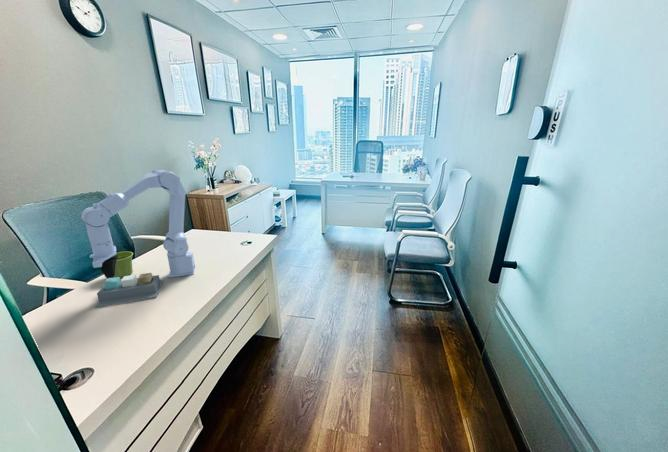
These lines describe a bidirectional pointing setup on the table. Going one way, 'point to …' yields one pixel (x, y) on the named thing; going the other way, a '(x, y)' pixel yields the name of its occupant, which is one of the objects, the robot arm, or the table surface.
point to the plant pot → (123, 264)
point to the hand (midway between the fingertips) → (110, 277)
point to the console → (129, 293)
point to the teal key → (112, 283)
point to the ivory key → (129, 281)
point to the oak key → (145, 278)
